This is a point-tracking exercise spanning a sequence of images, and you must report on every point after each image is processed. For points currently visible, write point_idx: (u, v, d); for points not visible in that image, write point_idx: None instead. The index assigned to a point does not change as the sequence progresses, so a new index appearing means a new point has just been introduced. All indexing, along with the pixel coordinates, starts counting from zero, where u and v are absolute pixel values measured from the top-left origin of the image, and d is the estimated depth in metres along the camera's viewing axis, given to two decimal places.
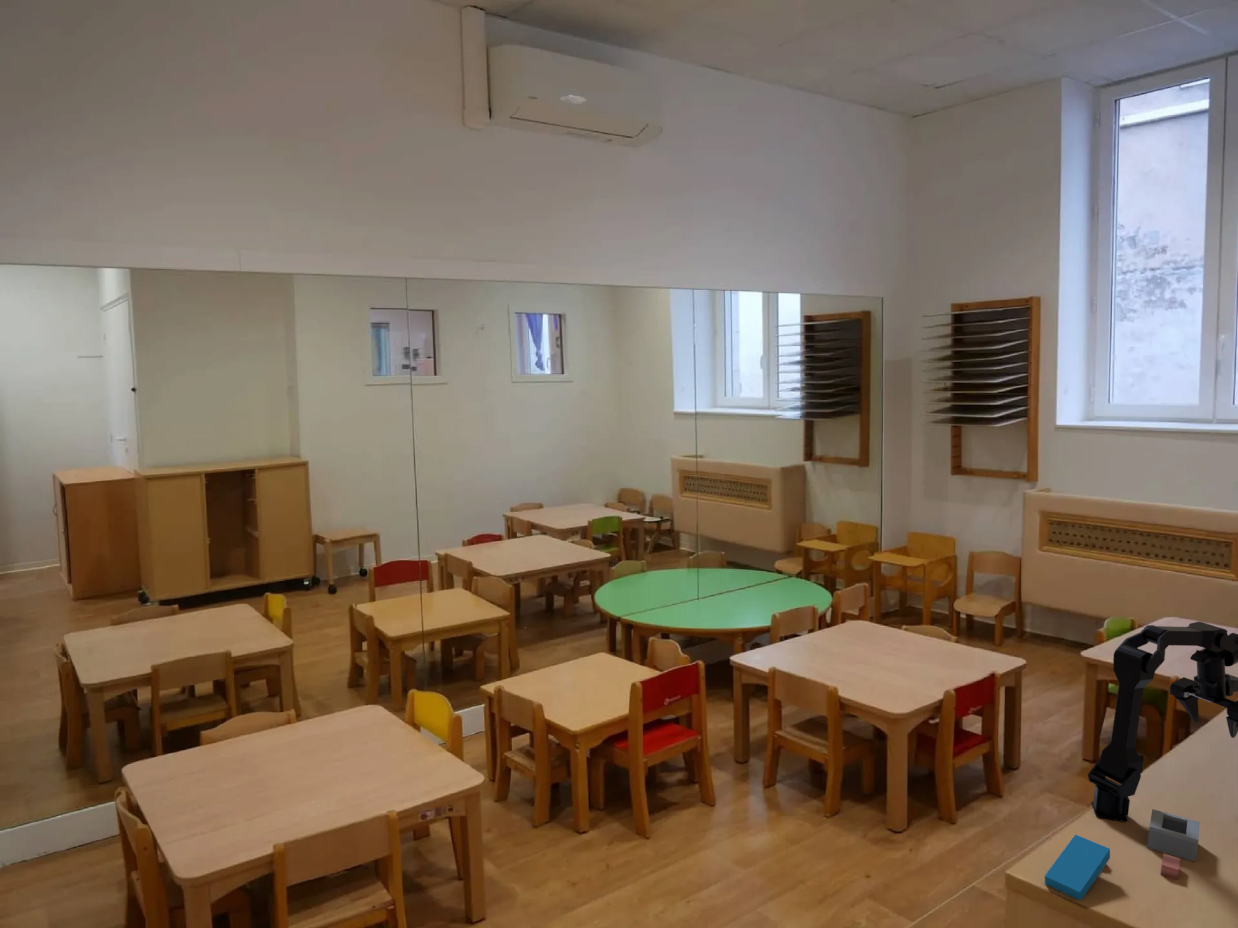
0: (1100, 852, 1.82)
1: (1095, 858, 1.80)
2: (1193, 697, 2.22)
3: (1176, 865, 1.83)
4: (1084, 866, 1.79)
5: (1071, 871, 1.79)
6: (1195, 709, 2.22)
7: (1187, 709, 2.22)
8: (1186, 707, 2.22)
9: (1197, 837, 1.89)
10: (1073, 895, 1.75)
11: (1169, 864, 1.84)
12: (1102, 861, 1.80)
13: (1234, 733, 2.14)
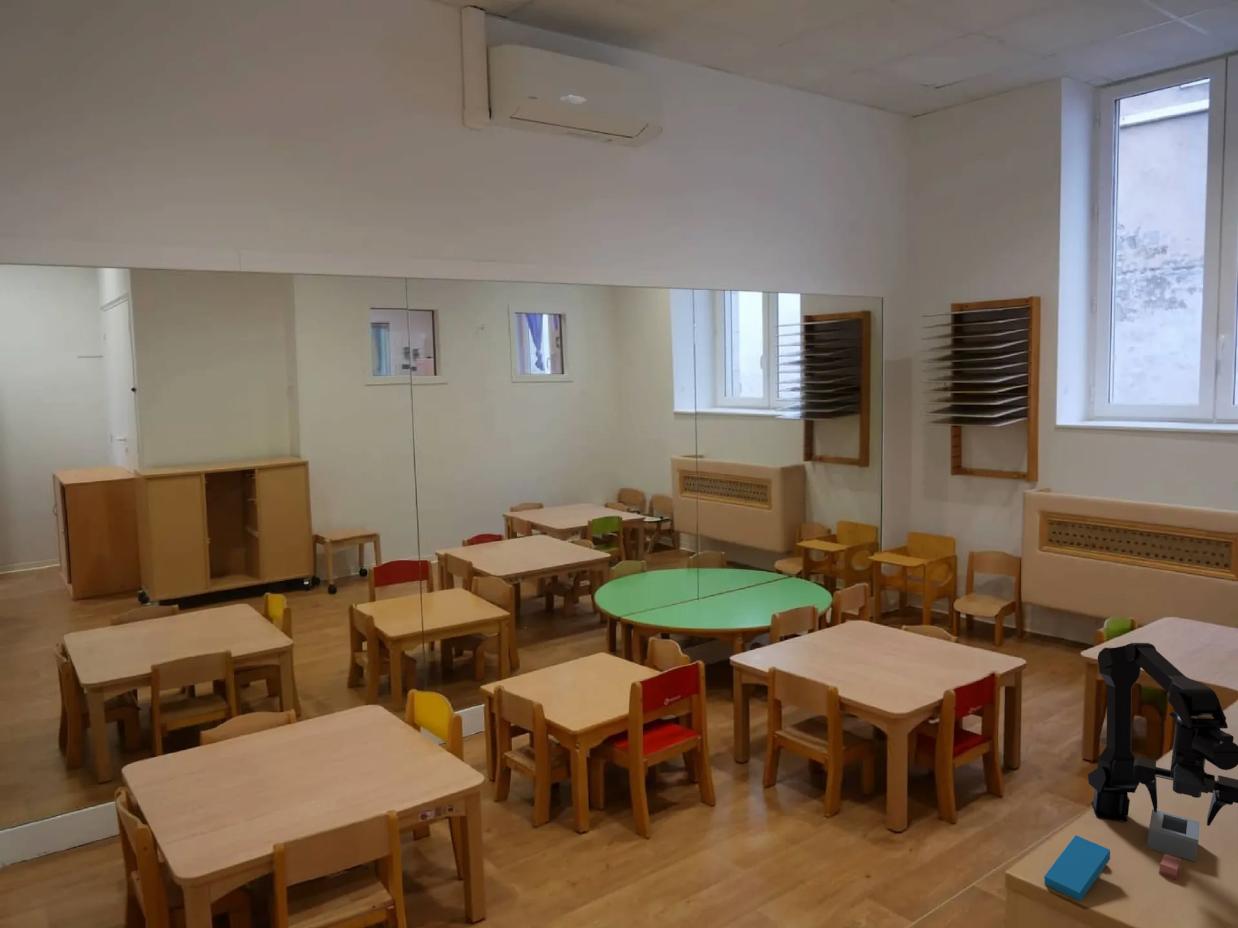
0: (1100, 853, 1.81)
1: (1095, 859, 1.80)
2: (1214, 795, 1.79)
3: (1175, 865, 1.83)
4: (1084, 867, 1.79)
5: (1071, 871, 1.78)
6: (1210, 808, 1.80)
7: None
8: None
9: (1197, 837, 1.89)
10: (1073, 896, 1.75)
11: (1168, 863, 1.84)
12: (1102, 862, 1.80)
13: None
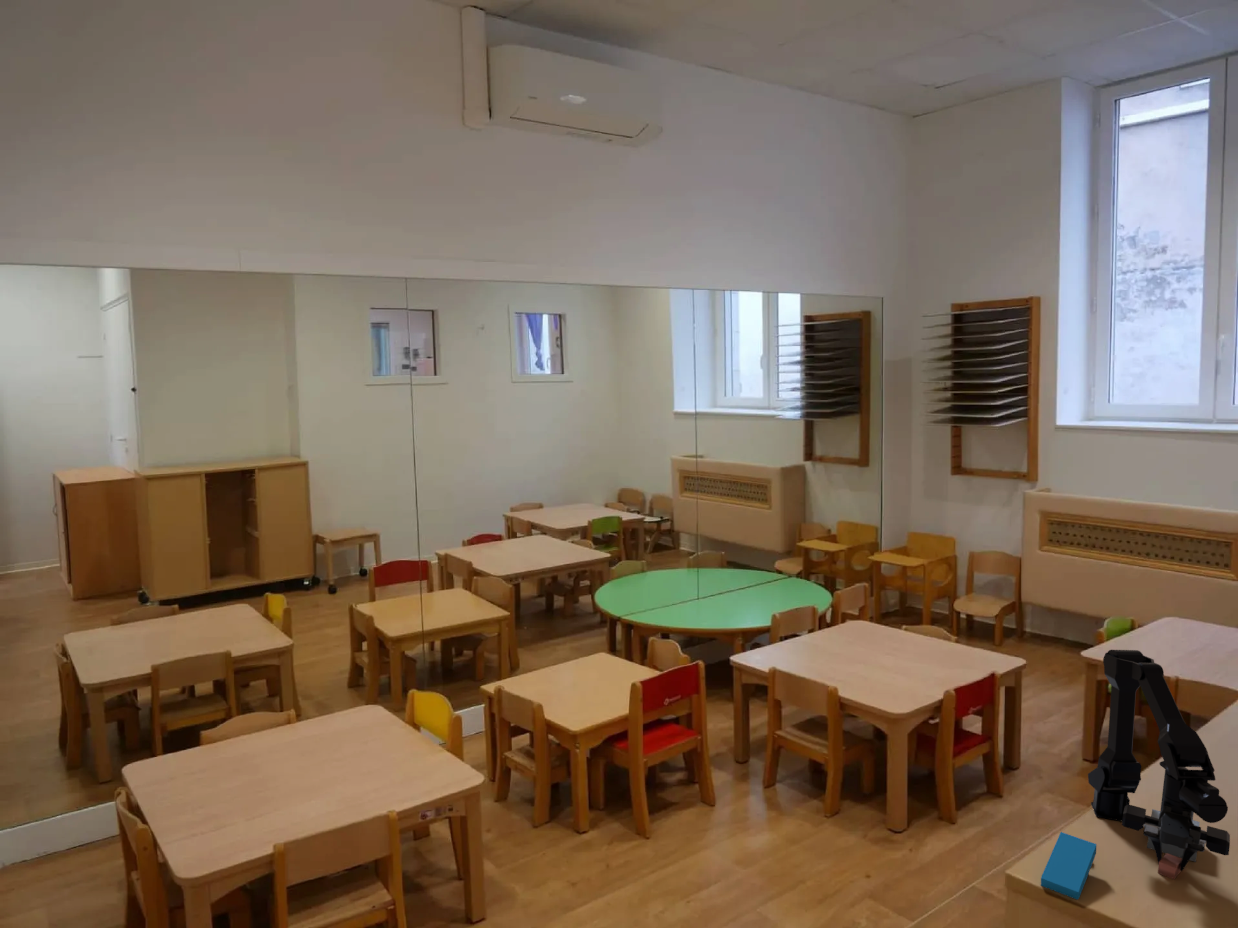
0: (1088, 849, 1.83)
1: (1085, 855, 1.82)
2: None
3: (1175, 864, 1.83)
4: (1076, 864, 1.80)
5: (1065, 870, 1.79)
6: (1183, 854, 1.83)
7: None
8: None
9: None
10: (1071, 895, 1.75)
11: (1167, 862, 1.84)
12: (1091, 857, 1.81)
13: None
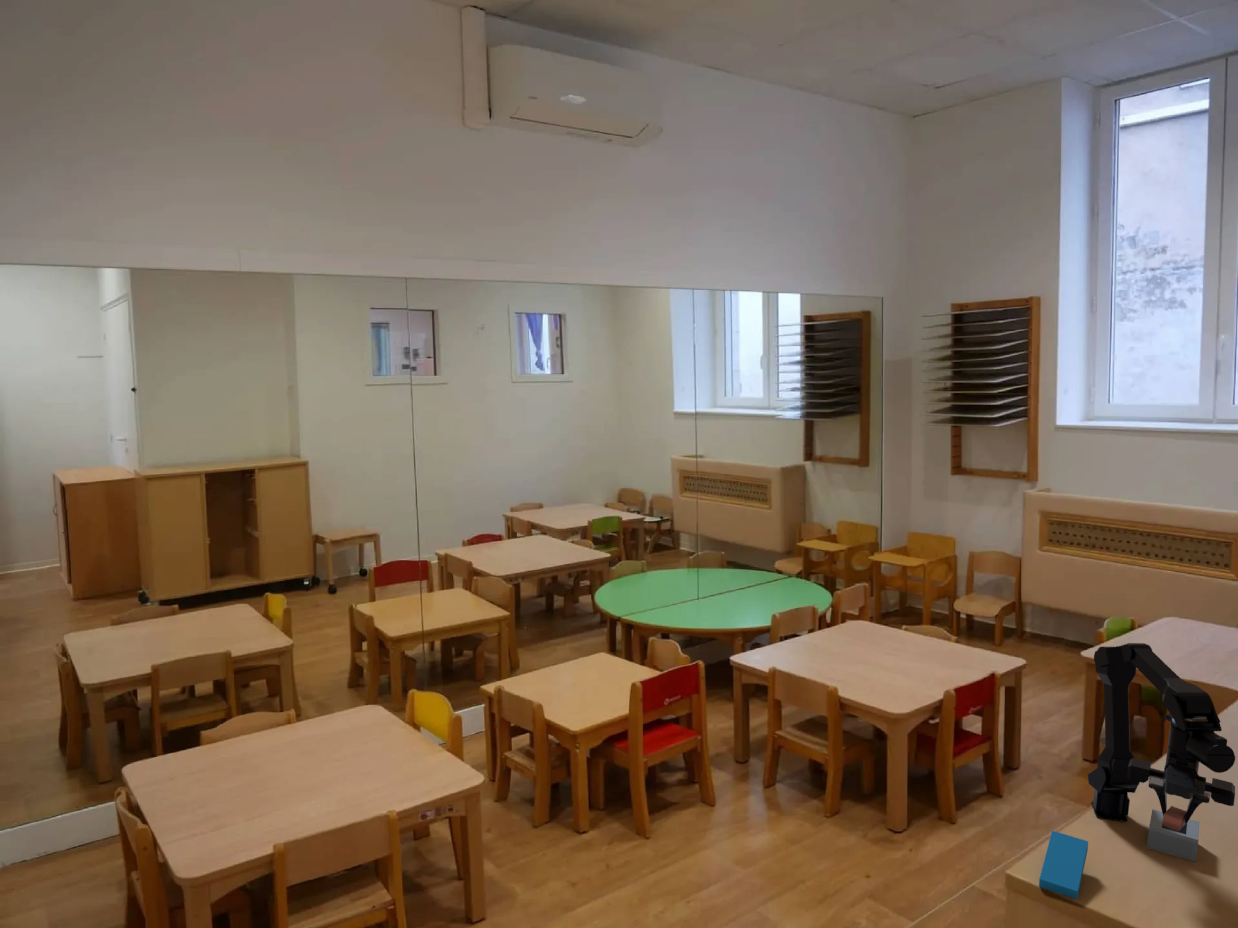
0: (1081, 846, 1.84)
1: (1079, 853, 1.82)
2: None
3: (1180, 816, 1.83)
4: (1072, 863, 1.80)
5: (1062, 870, 1.79)
6: (1188, 806, 1.83)
7: None
8: None
9: (1197, 837, 1.89)
10: (1069, 895, 1.75)
11: (1172, 814, 1.84)
12: (1085, 855, 1.82)
13: None
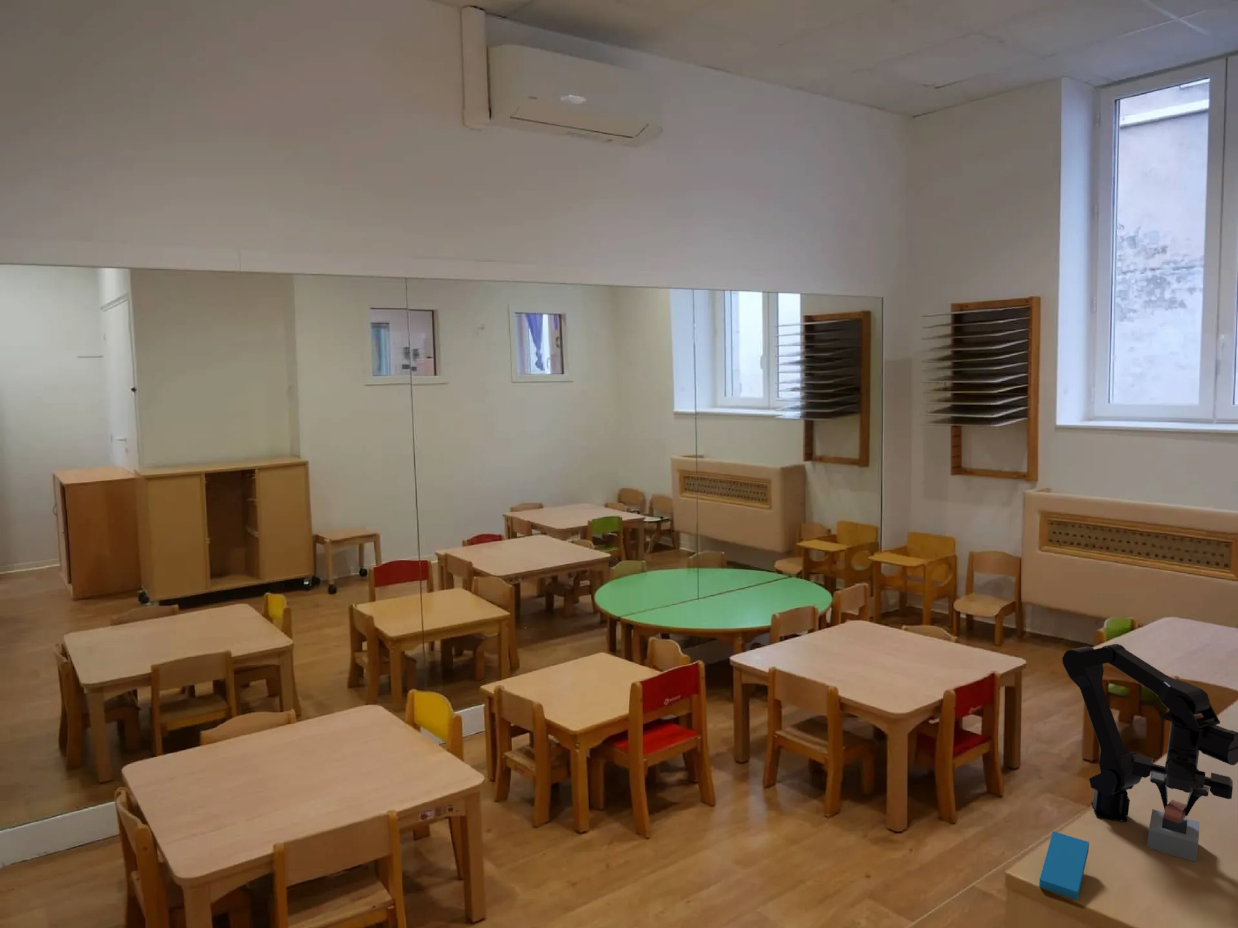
0: (1082, 847, 1.84)
1: (1080, 854, 1.82)
2: None
3: (1180, 809, 1.92)
4: (1072, 863, 1.80)
5: (1062, 870, 1.79)
6: (1188, 800, 1.92)
7: None
8: None
9: (1197, 837, 1.89)
10: (1070, 895, 1.75)
11: (1173, 807, 1.93)
12: (1086, 856, 1.82)
13: None
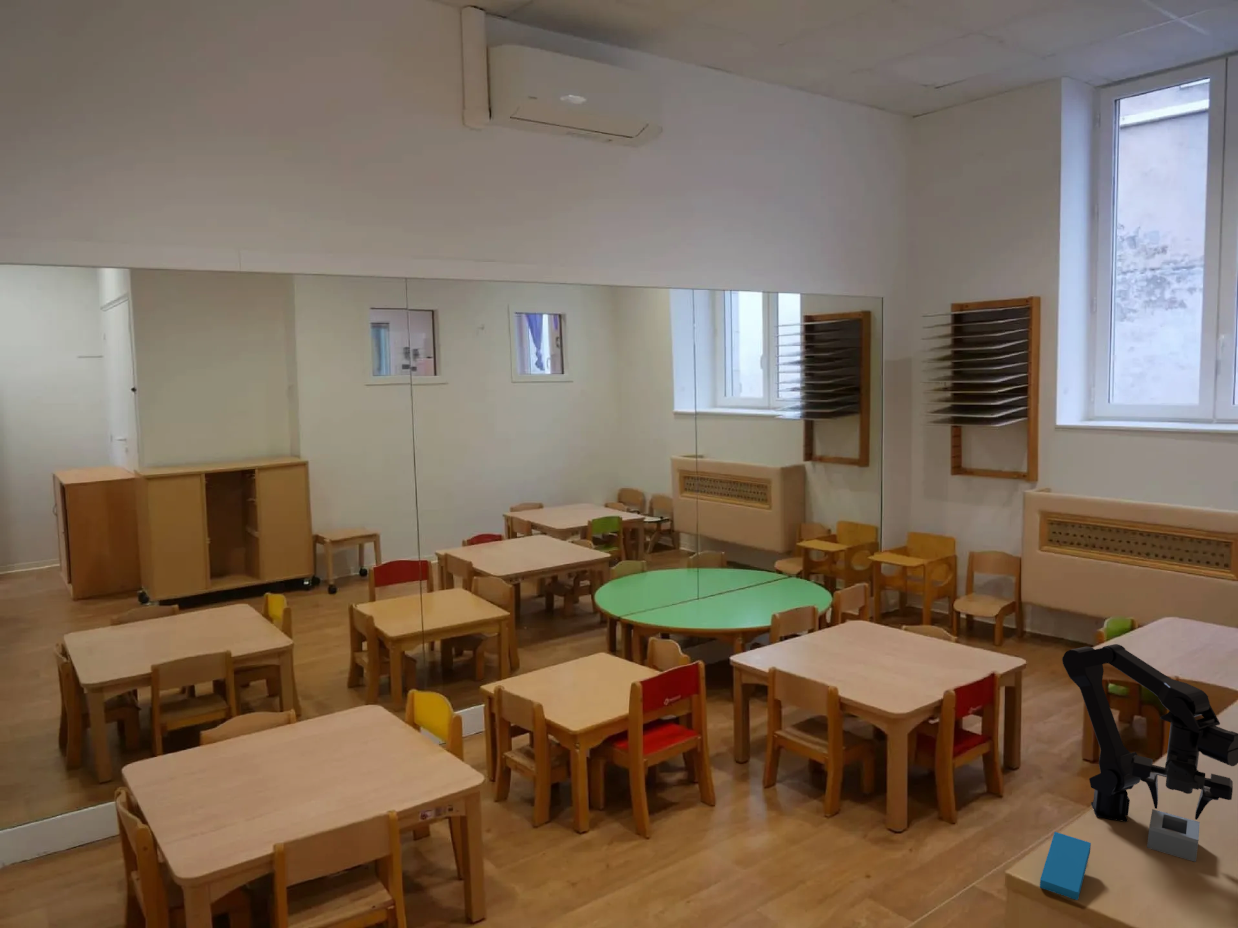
0: (1083, 848, 1.83)
1: (1081, 854, 1.82)
2: (1202, 791, 1.90)
3: None
4: (1073, 864, 1.80)
5: (1063, 871, 1.79)
6: (1198, 803, 1.91)
7: None
8: None
9: (1197, 837, 1.89)
10: (1070, 896, 1.75)
11: None
12: (1087, 856, 1.82)
13: None
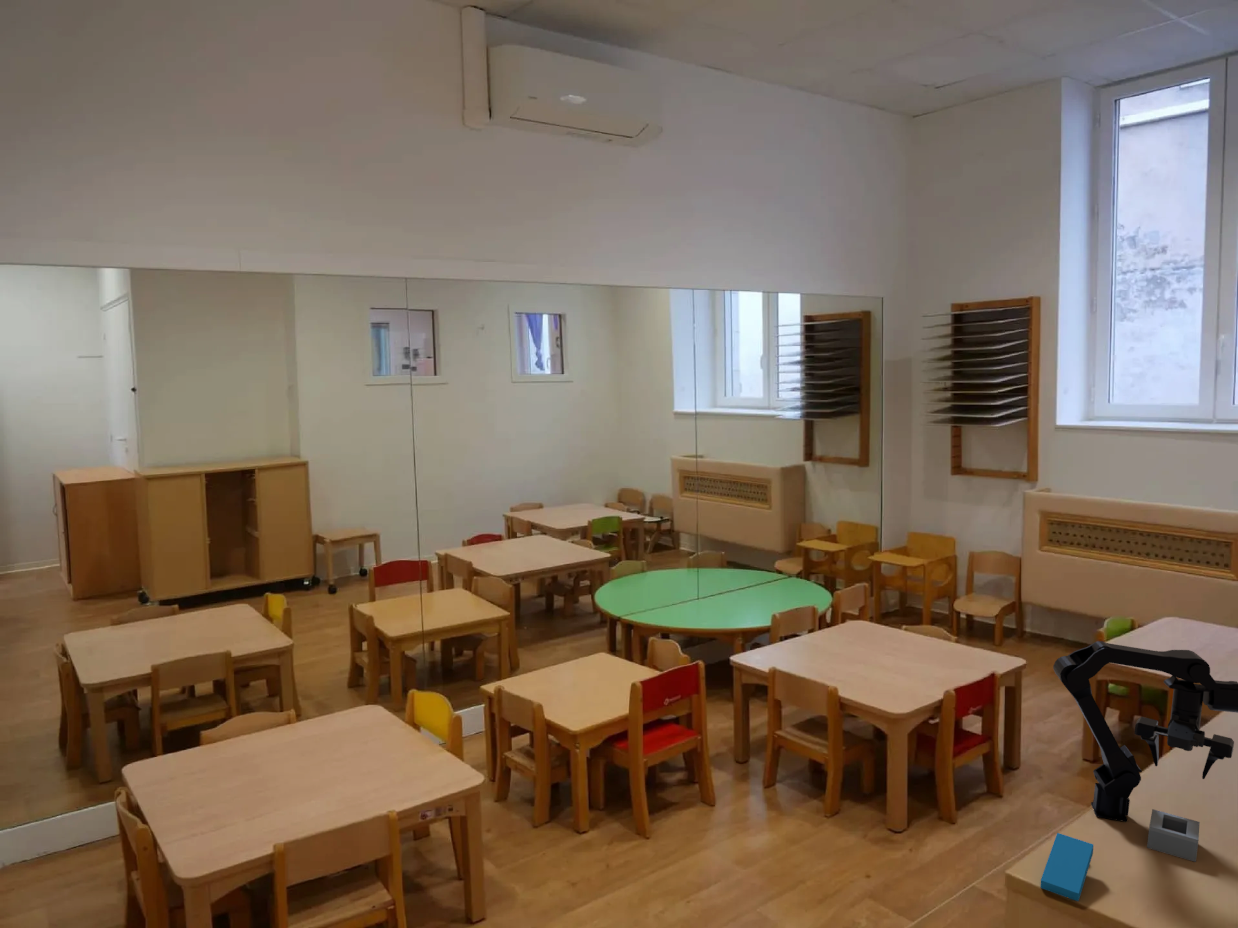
0: (1085, 849, 1.83)
1: (1083, 856, 1.81)
2: (1209, 751, 1.99)
3: None
4: (1075, 865, 1.79)
5: (1064, 872, 1.78)
6: None
7: None
8: None
9: (1197, 837, 1.89)
10: (1071, 897, 1.75)
11: None
12: (1089, 858, 1.81)
13: None
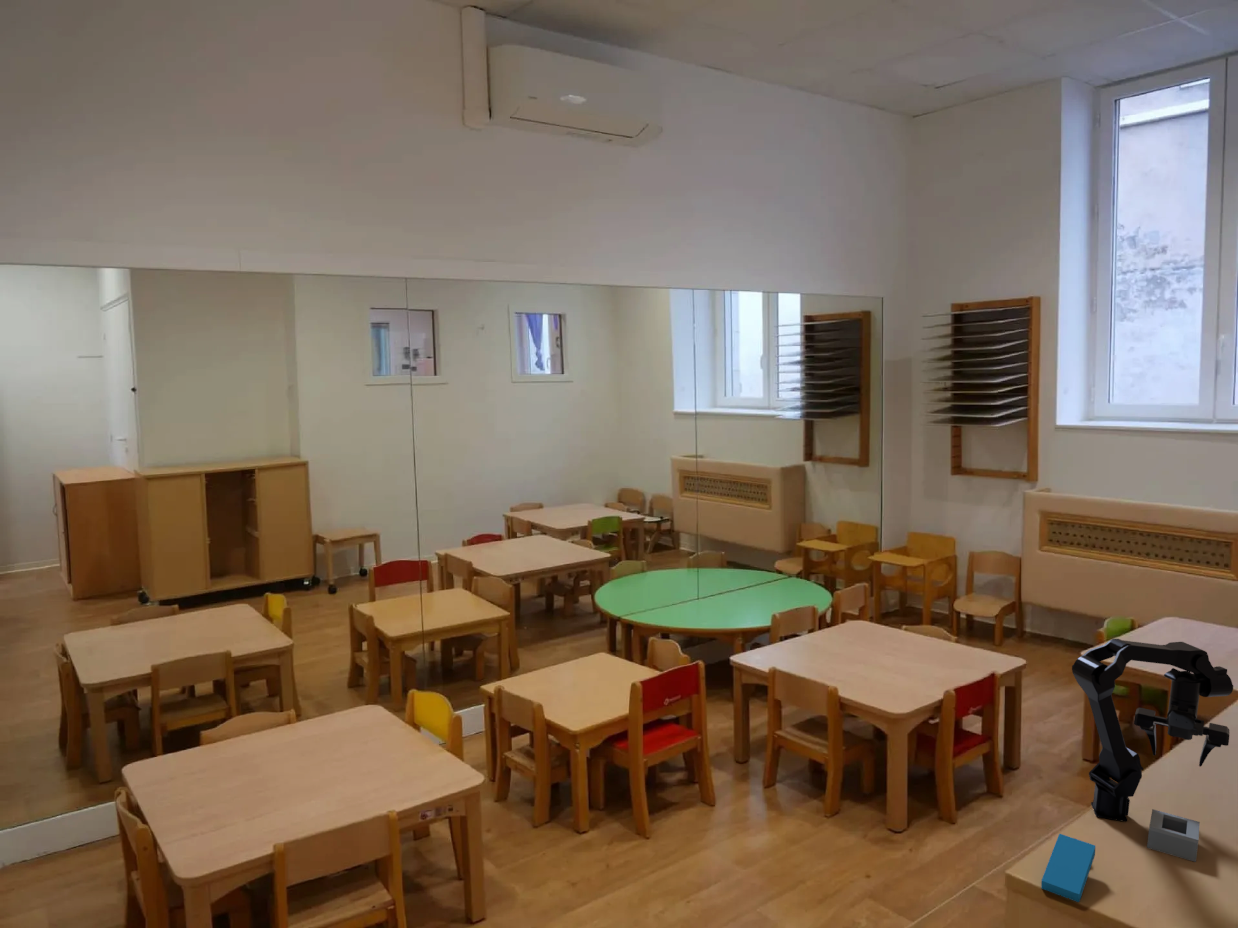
0: (1087, 850, 1.82)
1: (1085, 857, 1.81)
2: (1205, 740, 2.05)
3: None
4: (1076, 866, 1.79)
5: (1065, 873, 1.78)
6: (1202, 751, 2.06)
7: None
8: None
9: (1197, 837, 1.89)
10: (1071, 897, 1.74)
11: None
12: (1091, 859, 1.81)
13: None
